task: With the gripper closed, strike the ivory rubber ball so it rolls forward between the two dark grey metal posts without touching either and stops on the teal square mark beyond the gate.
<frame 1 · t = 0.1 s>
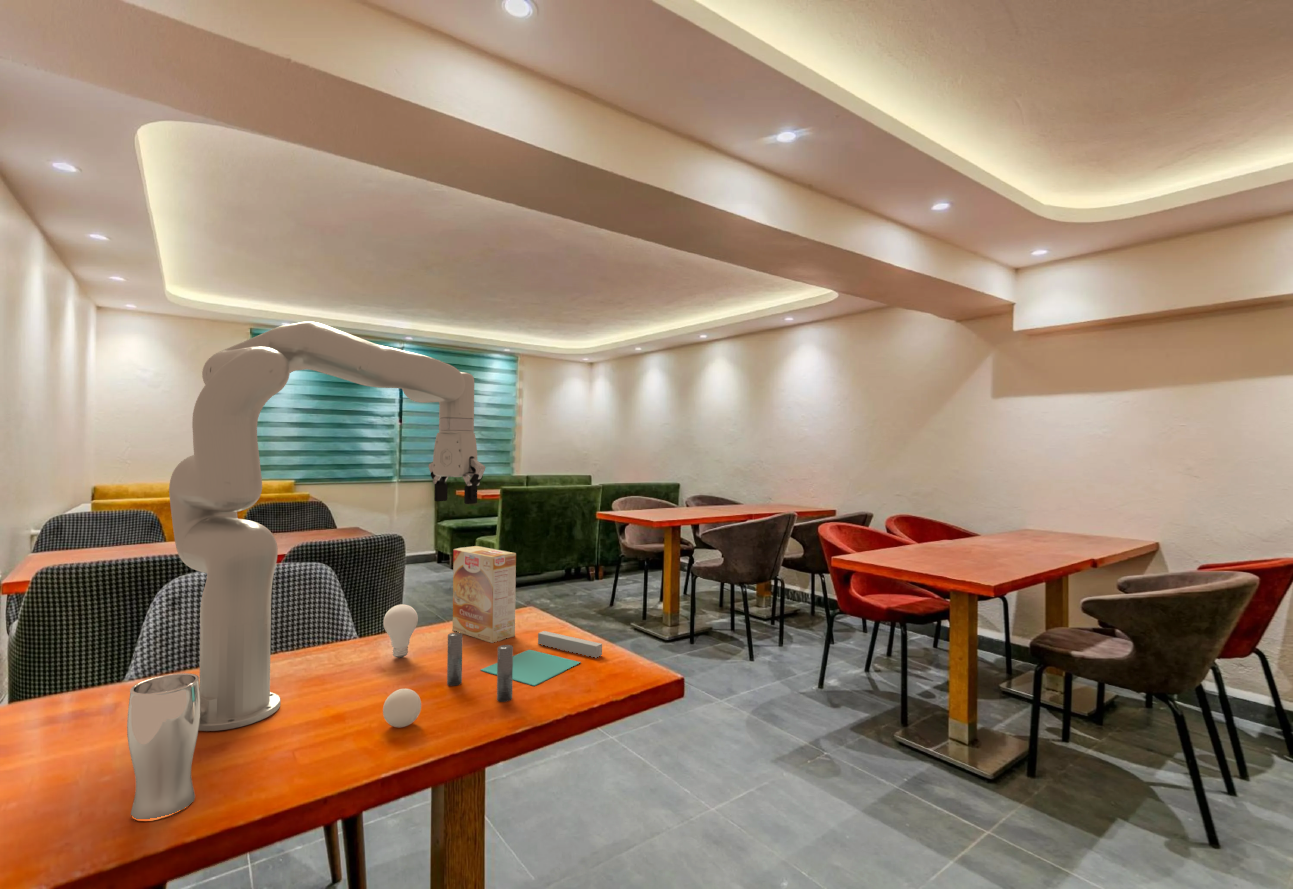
hand: (455, 502, 136), 31 cm above the table, tool pointing down, fingers open, 9 cm apart
light bulb: (400, 659, 124), on the table
beer glass: (163, 808, 73), on the table
ball: (402, 707, 95), on the table
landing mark: (531, 666, 120), on the table
left post: (454, 683, 112), on the table
stopper wall: (569, 649, 131), on the table
right post: (504, 698, 105), on the table
coffeecake box: (483, 634, 141), on the table
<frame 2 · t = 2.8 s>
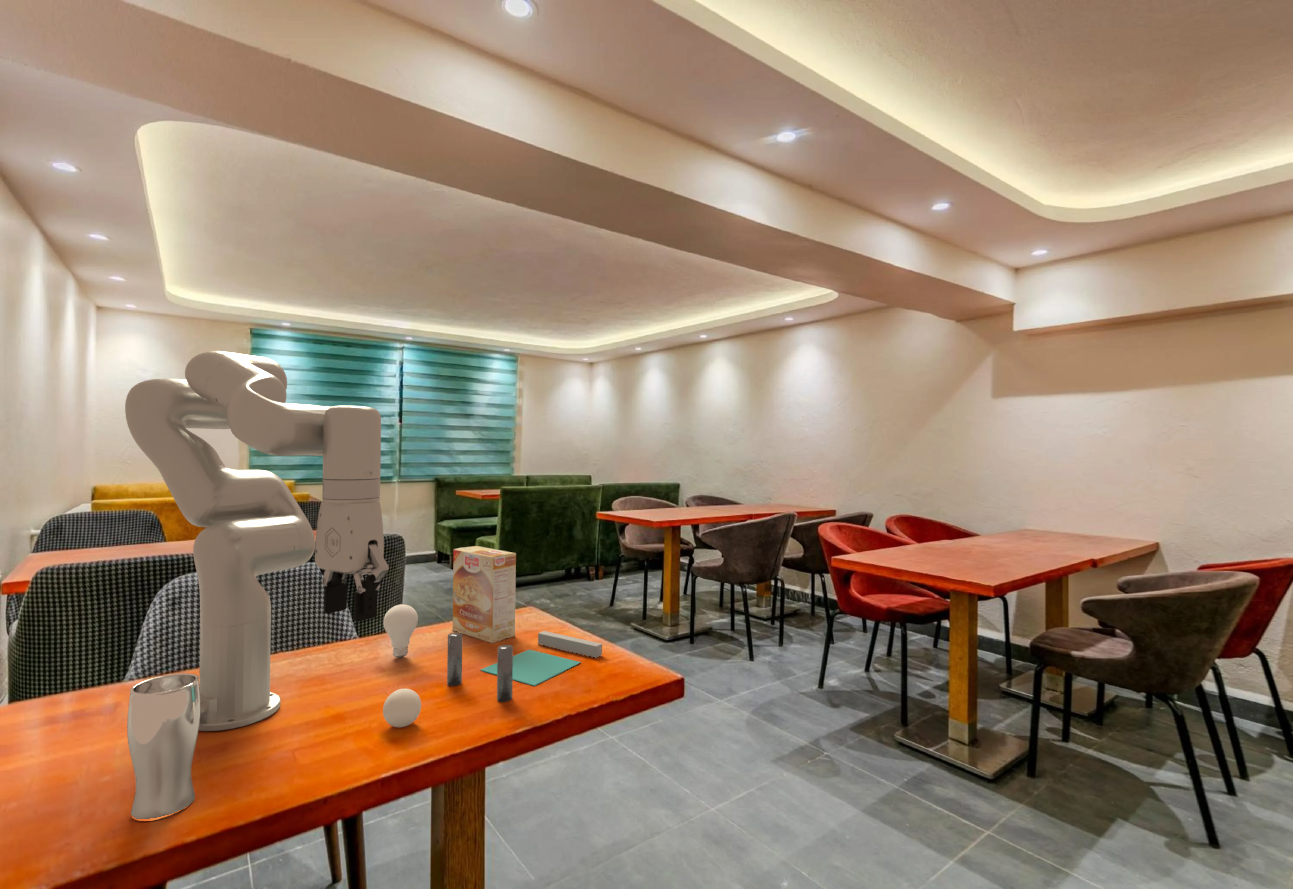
hand: (350, 614, 87), 20 cm above the table, tool pointing down, fingers open, 6 cm apart
nothing on the table moved.
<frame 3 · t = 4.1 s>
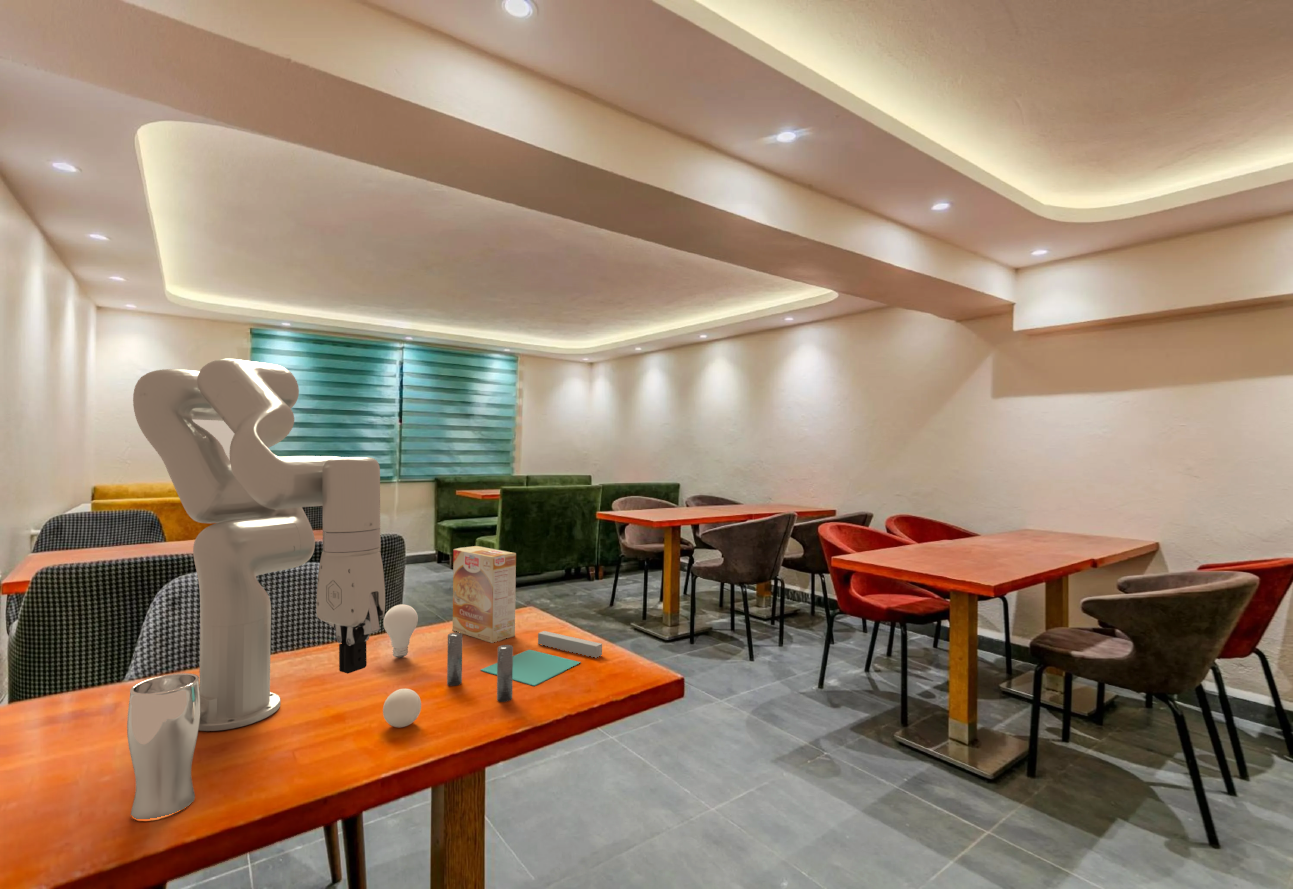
hand: (353, 669, 87), 12 cm above the table, tool pointing down, fingers closed
nothing on the table moved.
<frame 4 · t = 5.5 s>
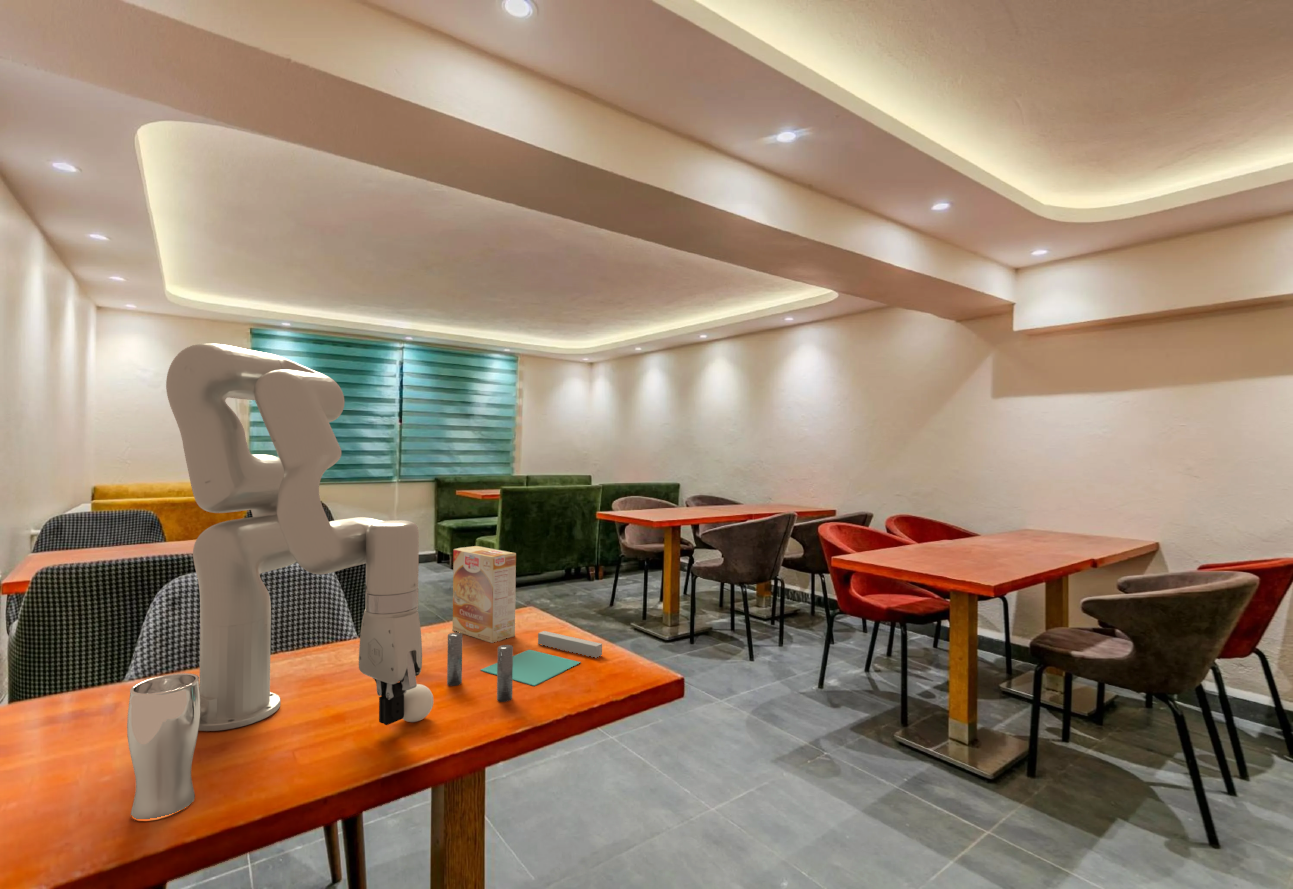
hand: (391, 720, 93), 2 cm above the table, tool pointing down, fingers closed
ball: (414, 702, 97), on the table
everything else where it was.
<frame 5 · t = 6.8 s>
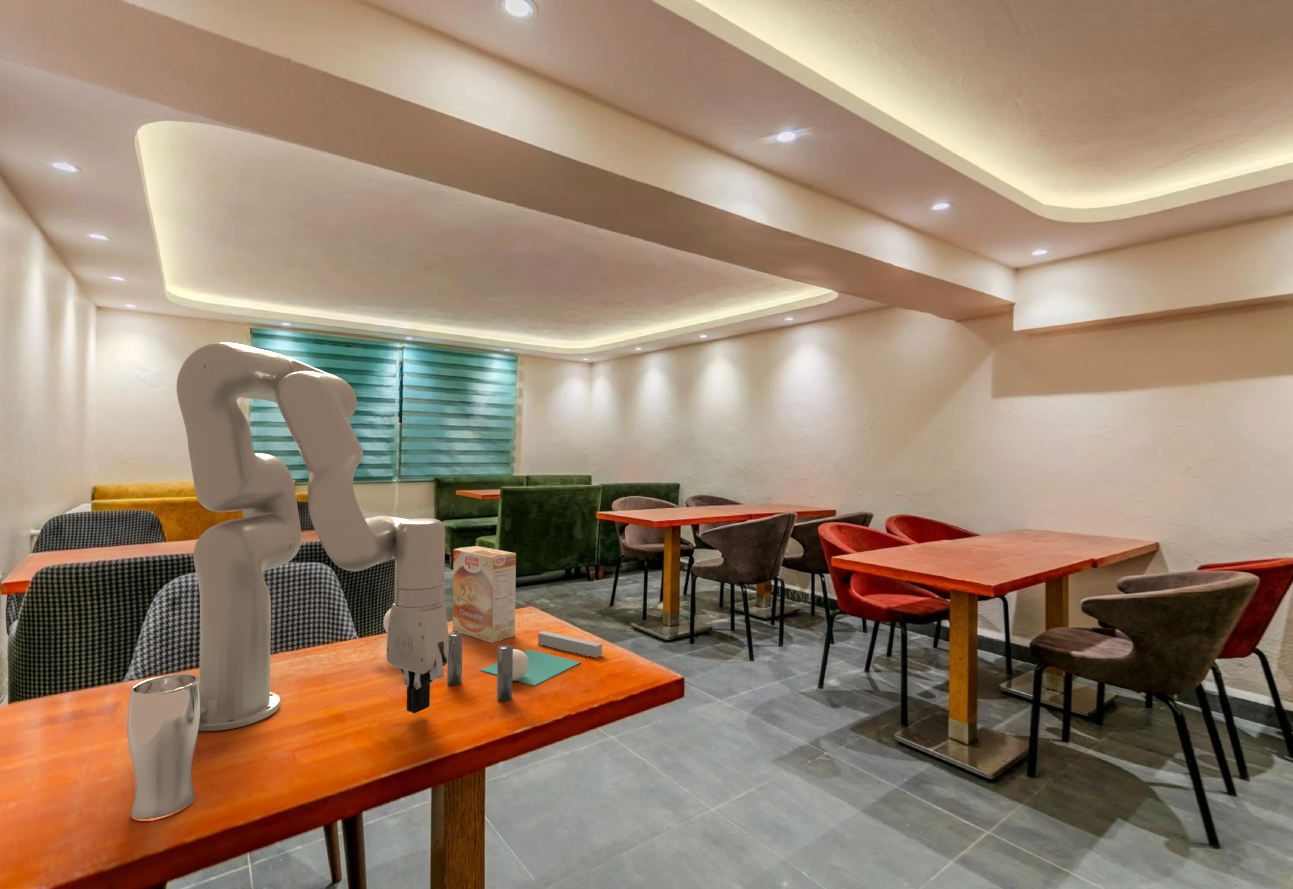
hand: (418, 709, 97), 2 cm above the table, tool pointing down, fingers closed
ball: (513, 664, 114), on the table
everything else where it was.
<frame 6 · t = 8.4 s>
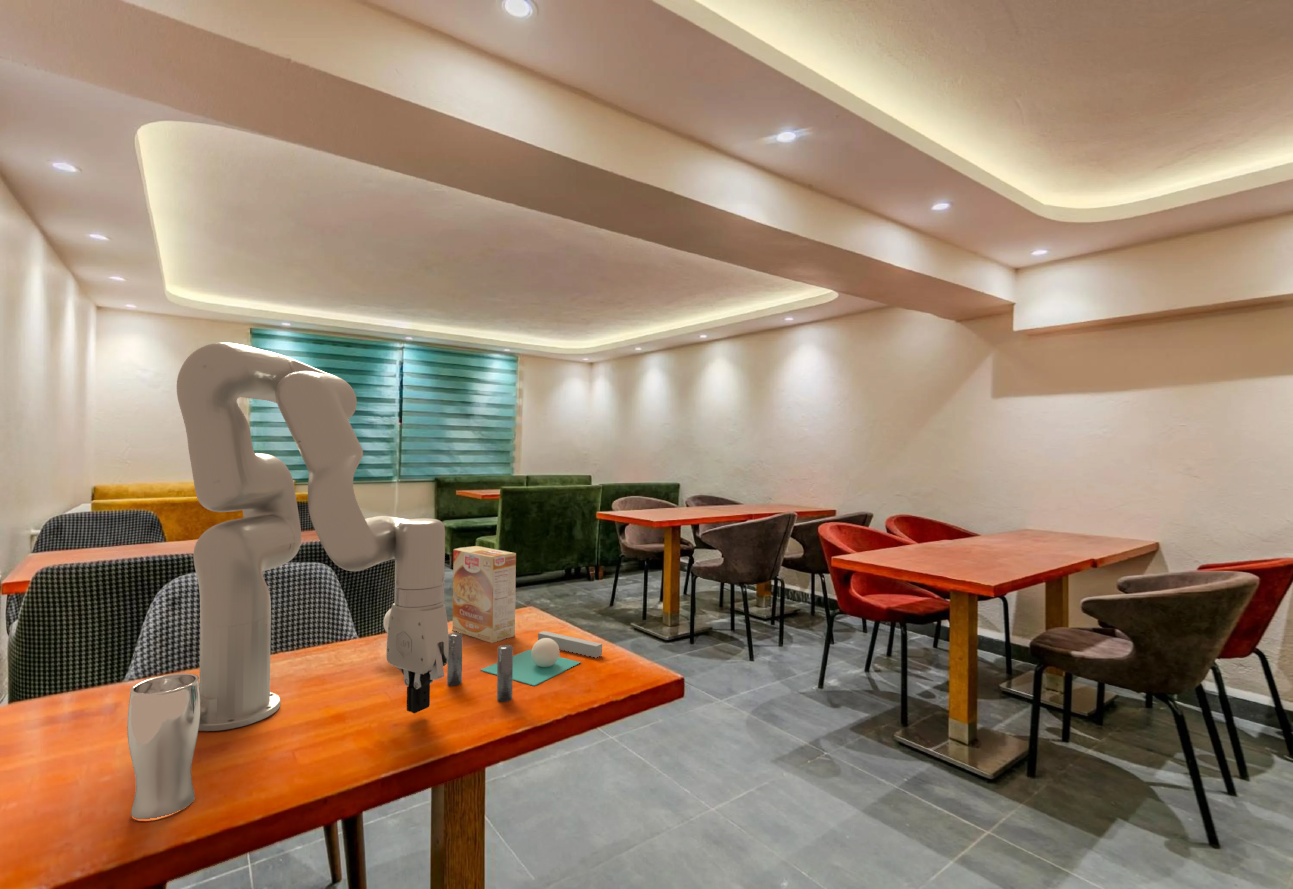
hand: (418, 709, 97), 2 cm above the table, tool pointing down, fingers closed
ball: (545, 652, 121), on the table
everything else where it was.
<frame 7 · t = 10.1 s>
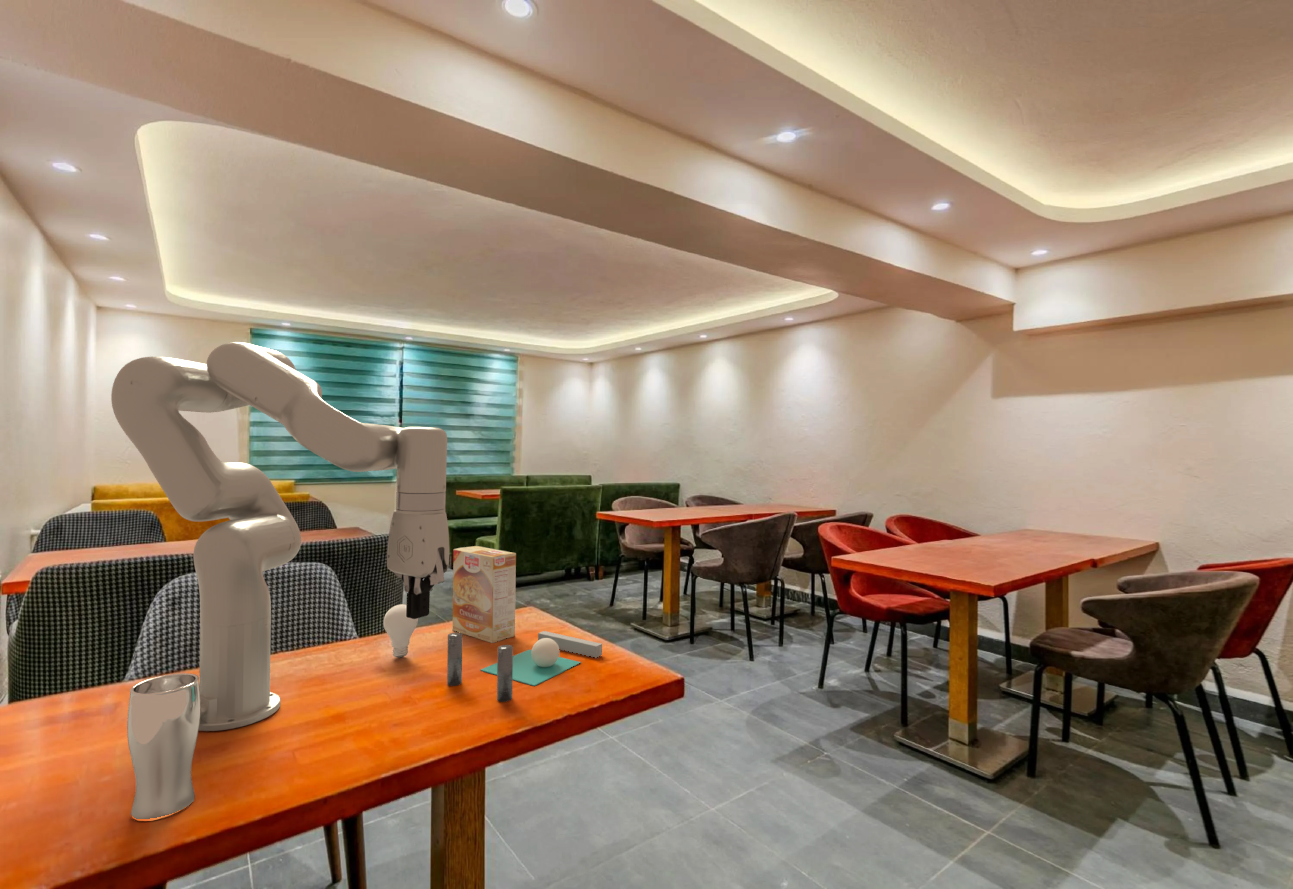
hand: (417, 616, 97), 17 cm above the table, tool pointing down, fingers closed
nothing on the table moved.
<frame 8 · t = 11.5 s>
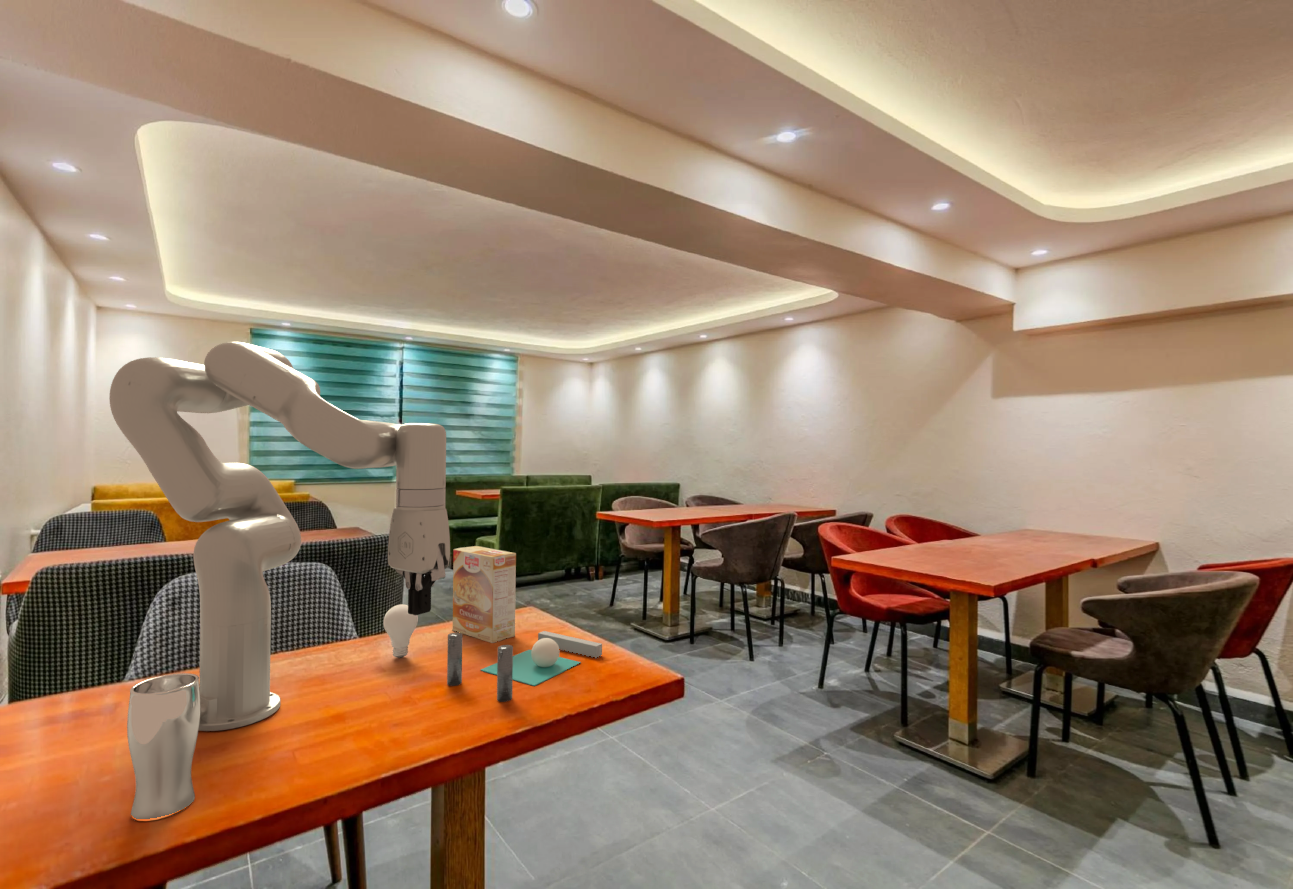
hand: (419, 612, 97), 17 cm above the table, tool pointing down, fingers closed
nothing on the table moved.
at the end: ball 2.7 cm from the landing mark (horizontally); ball never touched left post; ball never touched right post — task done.
